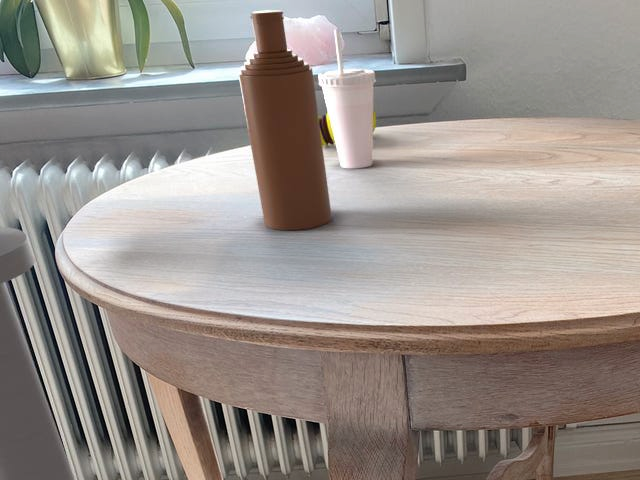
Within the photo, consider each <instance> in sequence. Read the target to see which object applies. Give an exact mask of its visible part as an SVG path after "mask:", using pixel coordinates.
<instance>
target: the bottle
mask: <svg viewBox="0 0 640 480" xmlns="http://www.w3.org/2000/svg"><path fill="white" fill-rule="evenodd" d="M283 15H284V12H283V11H282V10H280V9H271V10H270V9H267V10H257V11H252V12H250V16H249V17H250V19H251V22H252V28H253V35H254V40H255V46H256V50H255V51H254V52H252V55H251V56H249V57H248V60H247V61H245V62H244V65H243V66H240V68H239V70H240V71H239V72H238V79H239V85H240V86H239V87H240V91H241V97H242V102H243V108H244V114H245V119H246V126H247V130H248V131H247V132H248V136H249V137H248V138H249V142H250V148H251V149H250V150H251V153H252V154H251V155H252V159H253V165H254V170H255V177H256V182H257V188H258V195H259V199H260V200H259V201H260V206H261V209H262V217H263V222H264V225H265V227H267V228H269V229H271V230H278V231H300V230H301V231H302V230H308V229H309V230H310V229H313V228H317V227H321V226H323V225H326V224H328V223H329V222H330V221H331V220H332V218H333V217H332V208H331V202H330V200H331V199H330V194H329V186H328V179H327V169H326V162H325V155H324V146H322V140H321V132H320V125H319V117H320V116H319V110H318V102H317V94H316V87H315V79H314V73H313V67H311V66H310V63H309V62H307V61H304V58H302V57H299V56H298V55H299V54H297V53H293V50H292V49H290V48H288V44H287V37H286V31H285V30H286V29H285V23H284V19H285V16H283Z"/></svg>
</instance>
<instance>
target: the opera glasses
mask: <svg viewBox="0 0 640 480" xmlns="http://www.w3.org/2000/svg"><path fill="white" fill-rule="evenodd" d="M318 117H319V125H320V132H321V140H322V147H328V146H329V144H330V145H334V144H335V145H336V143H335V139H334V135H333V131H332V127H331V122H330V118H329V114H328V112H327V113H326V114H323V115H322V116H318ZM376 125H377V115H376V110H375V108H374V107H373V133H374V132H375V130H376Z"/></svg>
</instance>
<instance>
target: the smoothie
mask: <svg viewBox="0 0 640 480" xmlns="http://www.w3.org/2000/svg"><path fill="white" fill-rule="evenodd" d="M333 31H334V41H335V49H336V57H337V66H338V69H336V70H335V69H334V70H328V71H324V72H320V73H318V75H317V78H318V85H319V86H320V87H321V88H322V93H323V97H324V101H325V106H326V110H327V113H328V114H329V118H330V122H331V127H332V131H333V135H334V139H335V143H336V144H335V143H334V144H335V147H336V151H337V155H338V160H339V164H340V167H341V168H344V169H351V170H352V169H363V168H367V167H371V166H372V165H373V152H374V151H373V147H374V146H373V144H374V143H373V142H374V132H373V108H374V84H375V83H376V82H377V79H376V72H375V71H374V70H372V69H366V68H365V69H364V68H349V69H348V68H347V69H345V68H344V67H345V66H344V60H343V51H342V41H341V33H340V32H341V31H340V28H334V29H333Z"/></svg>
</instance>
